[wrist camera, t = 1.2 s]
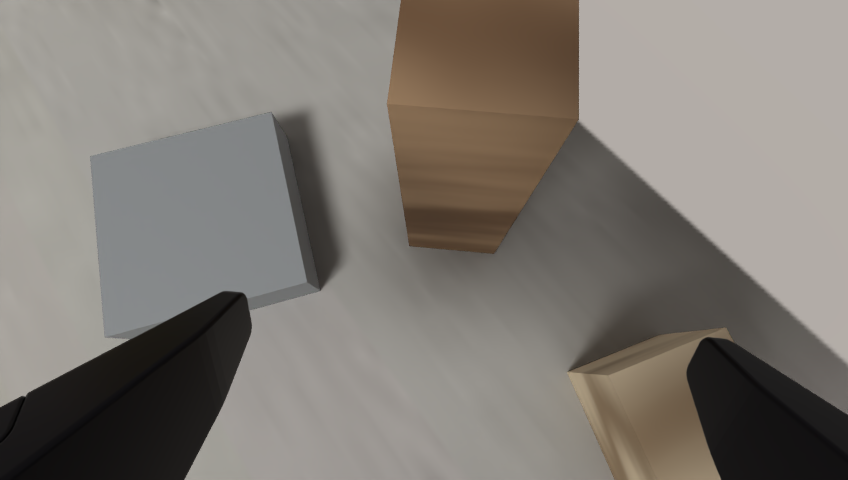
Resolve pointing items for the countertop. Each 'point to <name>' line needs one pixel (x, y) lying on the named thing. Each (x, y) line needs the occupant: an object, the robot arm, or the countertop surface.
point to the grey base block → (199, 223)
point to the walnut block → (479, 112)
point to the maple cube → (648, 409)
